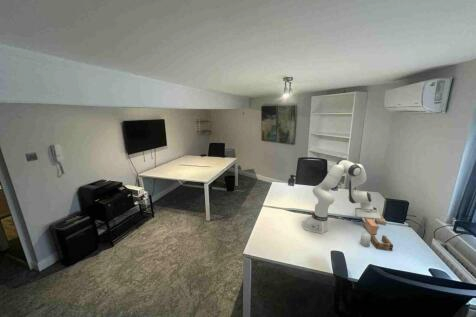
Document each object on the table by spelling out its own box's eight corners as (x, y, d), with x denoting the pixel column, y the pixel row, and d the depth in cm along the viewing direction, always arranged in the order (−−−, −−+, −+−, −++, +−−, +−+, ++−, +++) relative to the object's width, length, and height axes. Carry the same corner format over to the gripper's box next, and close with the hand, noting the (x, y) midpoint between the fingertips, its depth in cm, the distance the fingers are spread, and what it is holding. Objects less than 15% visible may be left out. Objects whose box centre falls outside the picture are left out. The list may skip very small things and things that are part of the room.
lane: (375, 248, 147) (376, 243, 146) (369, 239, 159) (370, 233, 158) (392, 250, 145) (393, 245, 144) (384, 240, 156) (385, 235, 155)
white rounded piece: (361, 246, 150) (363, 236, 148) (358, 241, 157) (360, 231, 154) (370, 247, 149) (372, 237, 147) (367, 242, 155) (368, 232, 153)
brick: (386, 225, 177) (387, 221, 176) (375, 224, 180) (376, 219, 179) (379, 217, 193) (380, 213, 192) (370, 215, 195) (371, 211, 194)
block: (370, 233, 164) (371, 225, 163) (364, 225, 176) (365, 218, 174) (376, 234, 163) (378, 226, 161) (370, 226, 175) (371, 218, 173)
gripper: (355, 206, 179) (357, 221, 172) (379, 208, 174) (383, 223, 167) (353, 208, 184) (355, 222, 177) (376, 210, 179) (380, 225, 172)
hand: (369, 223), depth 172 cm, fingers closed on block, 5 cm apart
